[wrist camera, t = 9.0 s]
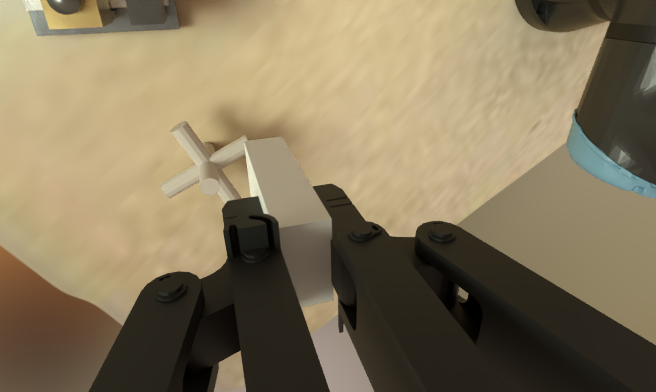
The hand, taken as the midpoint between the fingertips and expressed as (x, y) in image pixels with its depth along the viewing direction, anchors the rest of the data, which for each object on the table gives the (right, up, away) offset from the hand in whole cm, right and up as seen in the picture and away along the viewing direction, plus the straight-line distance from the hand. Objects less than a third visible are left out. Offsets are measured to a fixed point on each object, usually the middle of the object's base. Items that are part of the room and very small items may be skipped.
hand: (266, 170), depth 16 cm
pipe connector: (-11, +4, +30) cm, 32 cm away
